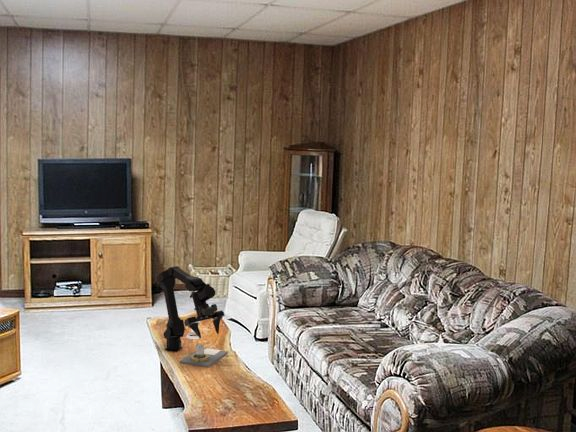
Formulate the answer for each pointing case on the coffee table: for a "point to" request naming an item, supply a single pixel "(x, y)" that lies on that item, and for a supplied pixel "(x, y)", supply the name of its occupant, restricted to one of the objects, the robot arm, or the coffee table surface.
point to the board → (208, 363)
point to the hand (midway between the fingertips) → (209, 335)
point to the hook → (193, 333)
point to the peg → (199, 351)
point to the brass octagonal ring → (199, 358)
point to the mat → (211, 351)
